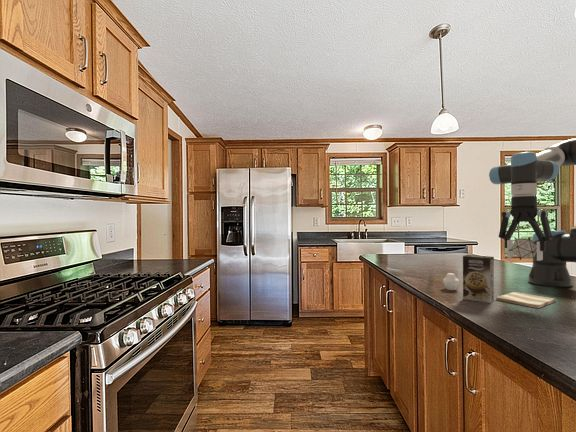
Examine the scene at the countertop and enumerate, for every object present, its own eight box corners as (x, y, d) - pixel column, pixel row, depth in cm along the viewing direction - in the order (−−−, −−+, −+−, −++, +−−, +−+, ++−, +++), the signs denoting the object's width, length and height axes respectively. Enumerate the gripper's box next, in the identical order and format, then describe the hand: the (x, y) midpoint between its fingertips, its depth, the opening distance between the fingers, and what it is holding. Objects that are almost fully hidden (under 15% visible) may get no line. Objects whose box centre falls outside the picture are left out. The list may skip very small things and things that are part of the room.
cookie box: (462, 299, 120) (461, 256, 120) (467, 296, 125) (466, 254, 125) (490, 303, 114) (490, 257, 114) (494, 299, 119) (494, 255, 119)
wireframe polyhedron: (525, 268, 118) (535, 246, 121) (540, 264, 110) (550, 239, 113) (500, 256, 121) (510, 234, 123) (513, 250, 113) (523, 227, 115)
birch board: (514, 294, 126) (514, 291, 126) (555, 301, 115) (555, 298, 115) (496, 300, 119) (496, 297, 119) (538, 308, 108) (538, 305, 108)
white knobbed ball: (441, 289, 136) (440, 273, 136) (445, 287, 141) (445, 270, 141) (457, 291, 132) (457, 274, 132) (461, 289, 137) (460, 272, 137)
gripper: (487, 197, 124) (487, 256, 124) (556, 193, 106) (556, 263, 106) (497, 197, 128) (497, 255, 128) (565, 194, 110) (565, 261, 110)
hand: (524, 258), depth 117 cm, fingers closed on wireframe polyhedron, 8 cm apart
